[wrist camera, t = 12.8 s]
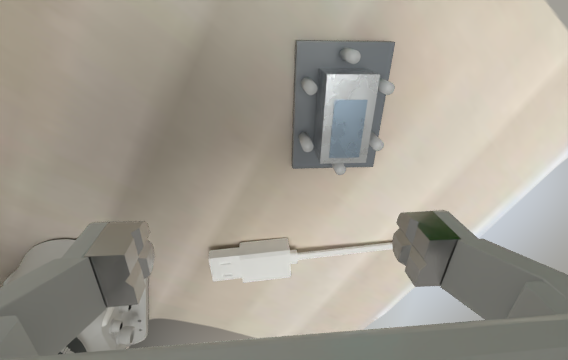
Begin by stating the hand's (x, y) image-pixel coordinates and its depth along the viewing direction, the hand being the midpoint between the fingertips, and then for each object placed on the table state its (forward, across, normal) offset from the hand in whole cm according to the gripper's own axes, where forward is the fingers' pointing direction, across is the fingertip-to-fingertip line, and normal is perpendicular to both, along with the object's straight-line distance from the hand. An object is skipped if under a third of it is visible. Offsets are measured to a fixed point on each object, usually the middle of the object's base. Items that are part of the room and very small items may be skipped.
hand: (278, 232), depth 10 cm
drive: (+24, +9, -2) cm, 26 cm away
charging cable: (+26, +9, -23) cm, 36 cm away
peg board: (+25, +9, -2) cm, 27 cm away
